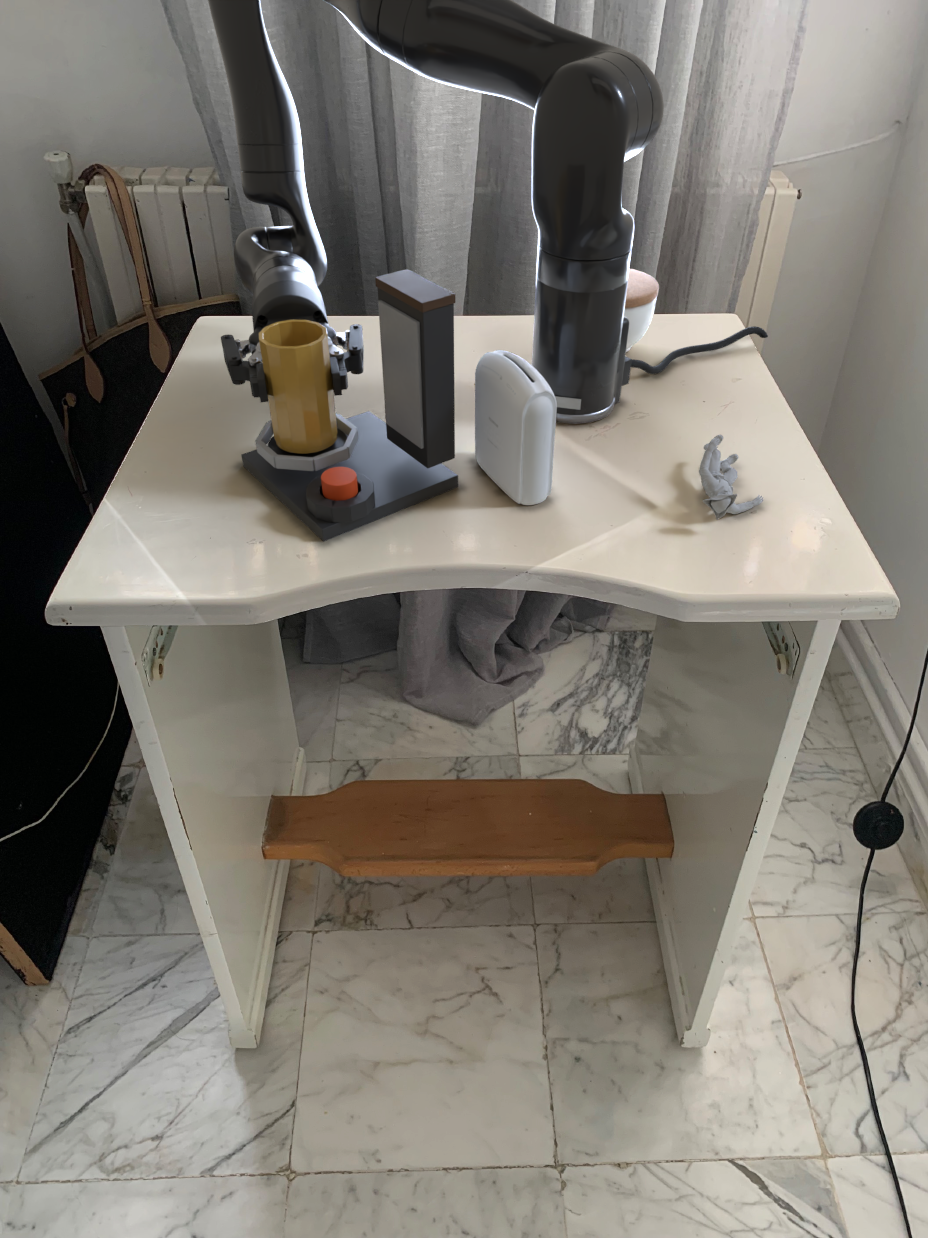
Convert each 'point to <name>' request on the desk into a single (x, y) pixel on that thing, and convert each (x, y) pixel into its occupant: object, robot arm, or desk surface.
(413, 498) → the brewer base
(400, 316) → the coffee maker
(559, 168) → the robot arm
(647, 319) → the trinket box
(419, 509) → the desk surface
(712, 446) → the soldier figure
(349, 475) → the button
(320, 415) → the cup
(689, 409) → the desk surface
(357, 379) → the desk surface
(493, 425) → the photo printer
